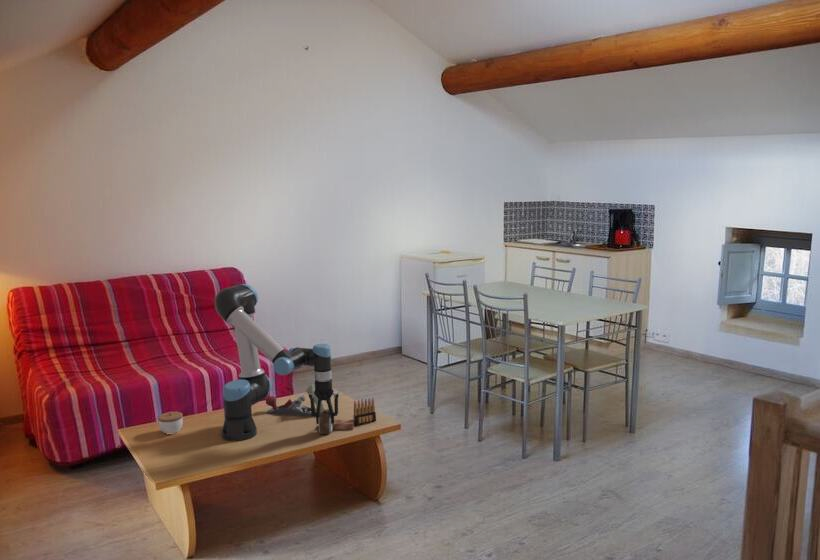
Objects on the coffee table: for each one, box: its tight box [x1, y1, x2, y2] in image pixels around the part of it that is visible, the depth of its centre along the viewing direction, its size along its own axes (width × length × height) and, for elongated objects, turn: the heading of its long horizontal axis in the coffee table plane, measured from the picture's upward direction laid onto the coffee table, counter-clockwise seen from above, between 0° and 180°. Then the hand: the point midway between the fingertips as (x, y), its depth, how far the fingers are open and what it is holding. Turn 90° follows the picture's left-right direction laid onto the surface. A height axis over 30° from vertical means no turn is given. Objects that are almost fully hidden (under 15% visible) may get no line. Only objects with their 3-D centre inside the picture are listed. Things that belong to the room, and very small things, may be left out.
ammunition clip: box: [352, 396, 377, 427], centre depth 324 cm, size 11×2×12 cm, turn 118°
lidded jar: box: [157, 411, 184, 434], centre depth 319 cm, size 11×11×9 cm
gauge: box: [318, 408, 331, 435], centre depth 315 cm, size 4×10×10 cm, turn 176°
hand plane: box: [265, 383, 326, 417], centre depth 340 cm, size 7×31×15 cm, turn 76°
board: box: [332, 419, 355, 430], centre depth 320 cm, size 15×6×2 cm, turn 86°
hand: (325, 430), depth 314 cm, fingers closed on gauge, 4 cm apart
